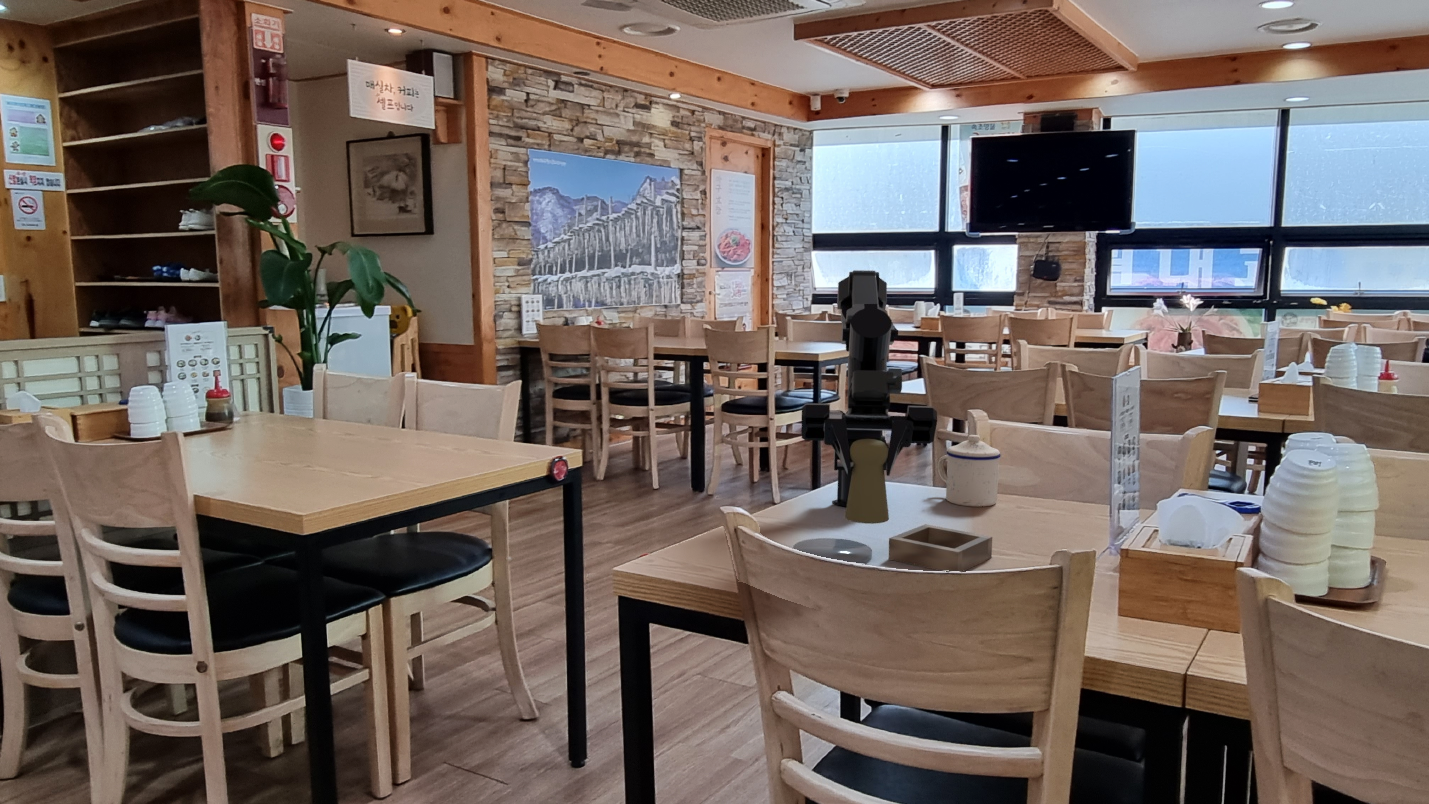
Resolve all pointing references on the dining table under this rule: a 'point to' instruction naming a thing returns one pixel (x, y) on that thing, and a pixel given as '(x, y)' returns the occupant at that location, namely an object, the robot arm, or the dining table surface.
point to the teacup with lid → (971, 473)
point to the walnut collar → (940, 548)
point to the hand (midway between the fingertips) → (868, 473)
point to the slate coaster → (836, 549)
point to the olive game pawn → (867, 483)
